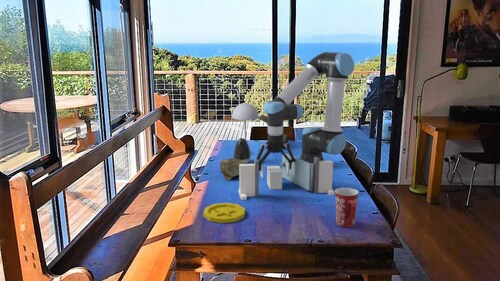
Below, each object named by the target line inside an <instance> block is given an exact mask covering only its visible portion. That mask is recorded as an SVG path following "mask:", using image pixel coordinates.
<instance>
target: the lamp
mask: <svg viewBox="0 0 500 281" xmlns="http://www.w3.org/2000/svg"><path fill="white" fill-rule="evenodd" d="M231 119H234V120H238V121H244V139H245V140H246V141H247V121H249V120H250V121H252V120H258V119H259V112H258V110H257V108H256V107H255V106H254V105H252V104H250V103H246V102H244V103H241V104H238V105H236V107H235V108H234V109H233V111H232V113H231ZM252 132H253V131H252V130H250V133H252ZM238 133H241V132H240V130H238ZM250 154H251V155H253V152H252V151H251V150H250Z"/></svg>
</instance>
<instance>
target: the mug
mask: <svg viewBox="0 0 500 281" xmlns="http://www.w3.org/2000/svg"><path fill="white" fill-rule="evenodd" d="M334 192H335V223H336V225H337V226H338V225H339V227H340V228H341V227H342V228H353V227H355V225H356V217H357V208H358V207H357V206H358V197H359V194H360V192H359V190H357V189H355V188H351V187H339V188H336V189H335V190H334Z"/></svg>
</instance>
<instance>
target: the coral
mask: <svg viewBox="0 0 500 281" xmlns="http://www.w3.org/2000/svg"><path fill="white" fill-rule="evenodd" d="M258 119H259V120H260V121H262V122H264V123H265V124H267V125H268V115H265V114H261V115H260V116H259V118H258ZM267 143H268V140H267V141H266V143H265V144H266V145H267ZM286 143H288V144H289V137H287V134H286V133H284V132H283V144H286ZM265 149H268V148H267V147H266V148H265ZM282 150H287V148H285V146H284V147H283V148H282Z"/></svg>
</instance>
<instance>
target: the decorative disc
mask: <svg viewBox="0 0 500 281" xmlns="http://www.w3.org/2000/svg"><path fill="white" fill-rule="evenodd" d="M245 215H246V208H245V207H244V206H242V205H240V204H237V203H230V202H222V203H213V204H211V205H209V206H207V207H205V208H204V211H203V217H204V218H205V219H206V220H207V221H209V222H213V223H220V224H226V223H227V224H229V223H235V222H238V221H240V220H242V219H244V218H245Z"/></svg>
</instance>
